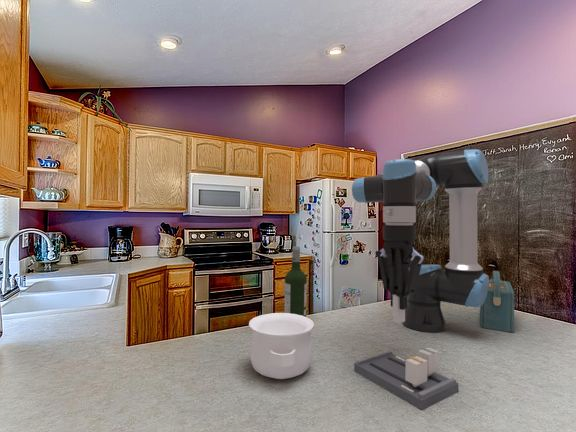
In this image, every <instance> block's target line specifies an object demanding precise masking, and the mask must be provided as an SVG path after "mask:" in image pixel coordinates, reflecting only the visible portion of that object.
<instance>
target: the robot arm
mask: <svg viewBox="0 0 576 432" xmlns="http://www.w3.org/2000/svg"><path fill="white" fill-rule="evenodd" d="M489 176H490V175H489V166H488V162H487V159H486V156H485V153H483V151H481V150H480V149H478V148H477V149H476V148H475V149H473V148H472V149H461V150H456V151H448V152H441V153H434V154H430V155H426V156H424V157H420V158H418V159H415V160H413V159H408V158H402V159H401V158H398V159H391V160H387V161H386V162H384V163H383V170H382V172H381V173H379V174H376V175H372V176H363V177H359V178H356V179H355V180H354V181H353V182H352V185H351V193H352V197H353V200H355V201H356V202H357V203H365V204H368V203H382V222H383V223H384V225H383V226H382V239H383V240H384V243H383V247H382V248H381V249H380V250H375V256H376V258H377V260H378V263H379V264H378V265H379V270H380V275H381V281H382V286H383V289H384V290H385V291H388V292H389V294H390V307H392V322H393V323H396V324H403V326H405V328H409V329H411V330H415V331H420V332H423V333H424V332H425V333H440V332H444V331H446V327H447V326H446V320H445V318H444V316H445V315H444V314H443V310H442V307H441V305H442V304H441V302H442V303H449V304H453V305H459V306H463V307H464V306H465V307H470V308H480V306H482V305H483V303H484V302H485V299H486V296H487V293H488V287H489V280H490V277H489V275H488V274H486V273H484V272H483V271H484V269H483V267H482V265H480V264H479V262H478V193H480V192H481V191H482V190H483V184H485V183H488V181H489ZM437 186H443V187H444V191H445V192H446V193H447V194H448V195H449V197H448V200H449V202H448V203H449V208H448V209H449V211H448V212H449V213H448V214H449V260H448V261H449V262H448V263H446V264H445V265H444V269H442V266H441V265H440V264H434V263H433V264H432V263H431V264H423V263H424V262H425V261H426V255H424V254H420V252H418V251H417V248H416V245H415V241H416V239H417V237H416V235H417V231H416V230H417V227H416V226H415V225H414V224H415V223H416V222H417V212H416V211H417V208H416V207H417V204H416V203H420V202H421V203H423V202H427V201H429V200H430V199H432V198H433V197H434V196H435V194H436V191H437Z"/></svg>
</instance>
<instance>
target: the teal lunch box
mask: <svg viewBox="0 0 576 432" xmlns="http://www.w3.org/2000/svg"><path fill="white" fill-rule="evenodd" d="M479 319H480V320H479V327H480V328H482V329H488V330H494V331H499V332H504V333H505V332H506V333H514V332H515V291H514V289H513V287H512V284H511V282H510V281H508V280H501V273H500V271H499V270H492V278H490V279H489V287H488V293H487V296H486V299H485V302H484V303H483V305H482V306H480V307H479Z"/></svg>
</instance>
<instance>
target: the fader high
mask: <svg viewBox="0 0 576 432" xmlns="http://www.w3.org/2000/svg"><path fill="white" fill-rule="evenodd" d="M417 354H418V355H417V356H418V357H420V358H422V359H425V360H427V376H430V375H432V373H434V372H435V373H437V372H438V371H439V367H440V366H439V359H440V357H439V354H440V352H439V350H436V349H433V348H430V347H426V348H425V347H422V349H420V350H417Z"/></svg>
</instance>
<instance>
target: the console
mask: <svg viewBox="0 0 576 432" xmlns="http://www.w3.org/2000/svg"><path fill="white" fill-rule="evenodd" d="M406 360H407V359H406V358H403V357H402V356H399V355H397V354H394V353H393V351H392V350H390V349H389V350H385V351H382V352H379V353H376V354H372V355H369V356H366V357H364V358H360V359H356V362H355V363H354V364H353V370H354V373H357V374H359V375H360V376H363V377H364V378H365V379H367V380H369V381H370V382H372V383H374V384H376V385H378V386H379V387H381V388H383V389H384V390H385V391H388V392H390V393H391V394H393V395H395V396H397V397H398V398H401V399H402V400H404V401H405V402H407V403H409V404H410V405H412V406H413V407H416V408H418V410H421V411H423V410H424V409H426V408H428V407H430V406H433V405H435V404H436V403H439V402H441V401H443V400H444V399H446V398H448V397H450V396H451V397H452V395H455V394H456V393H458V392H459V388H460V387H459V382H457V379H456V378H453V377H451V378H448V377H446V376H444V375H442V374H440V373H437V372H434V373H432V375H430V376H427V381H426V382H424V383H421V384H420V386H418V387H416V388H415V387H413V386H412V383H410V382H408V381H406V380H405V370H406Z"/></svg>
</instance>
